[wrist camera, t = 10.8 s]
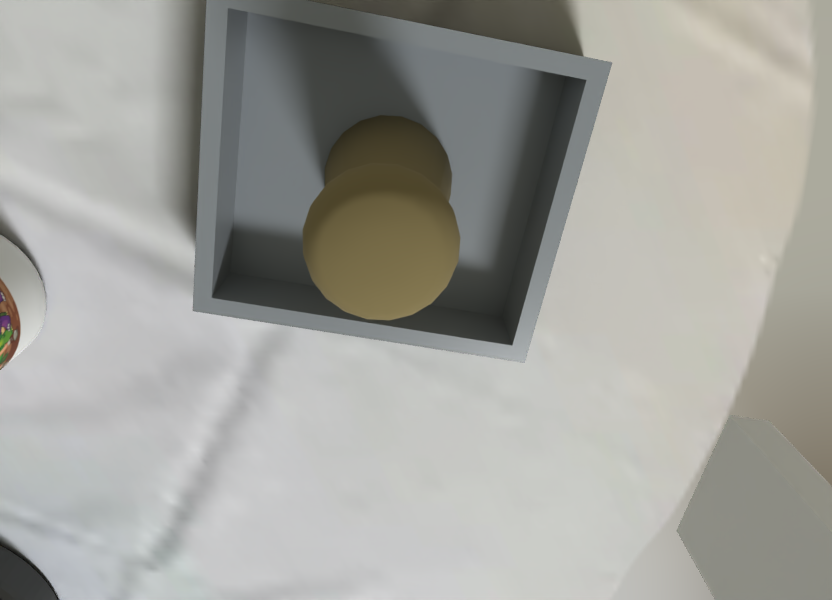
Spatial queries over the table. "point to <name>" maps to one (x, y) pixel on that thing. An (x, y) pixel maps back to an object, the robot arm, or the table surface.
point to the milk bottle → (18, 302)
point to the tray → (369, 97)
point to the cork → (383, 221)
